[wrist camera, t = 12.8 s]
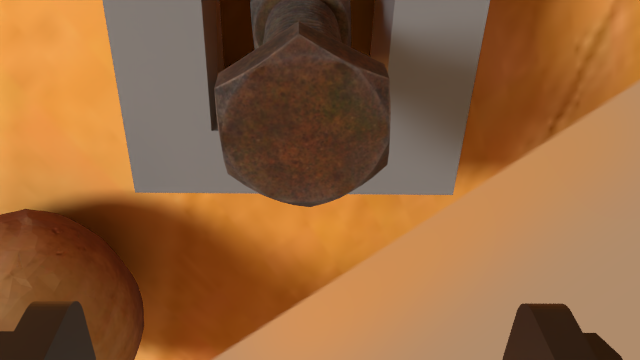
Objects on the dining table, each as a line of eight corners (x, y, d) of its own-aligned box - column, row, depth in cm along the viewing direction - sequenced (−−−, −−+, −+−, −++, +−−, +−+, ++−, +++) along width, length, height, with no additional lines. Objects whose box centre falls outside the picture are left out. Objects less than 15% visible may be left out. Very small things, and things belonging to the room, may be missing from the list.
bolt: (322, -81, 27) (345, 8, 15) (373, 7, 30) (431, 149, 17) (225, -14, 29) (171, 119, 16) (282, 65, 31) (273, 234, 19)
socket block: (478, -176, 25) (523, -174, 20) (429, 138, 34) (452, 194, 29) (115, -190, 25) (69, -192, 20) (159, 135, 33) (135, 192, 28)
